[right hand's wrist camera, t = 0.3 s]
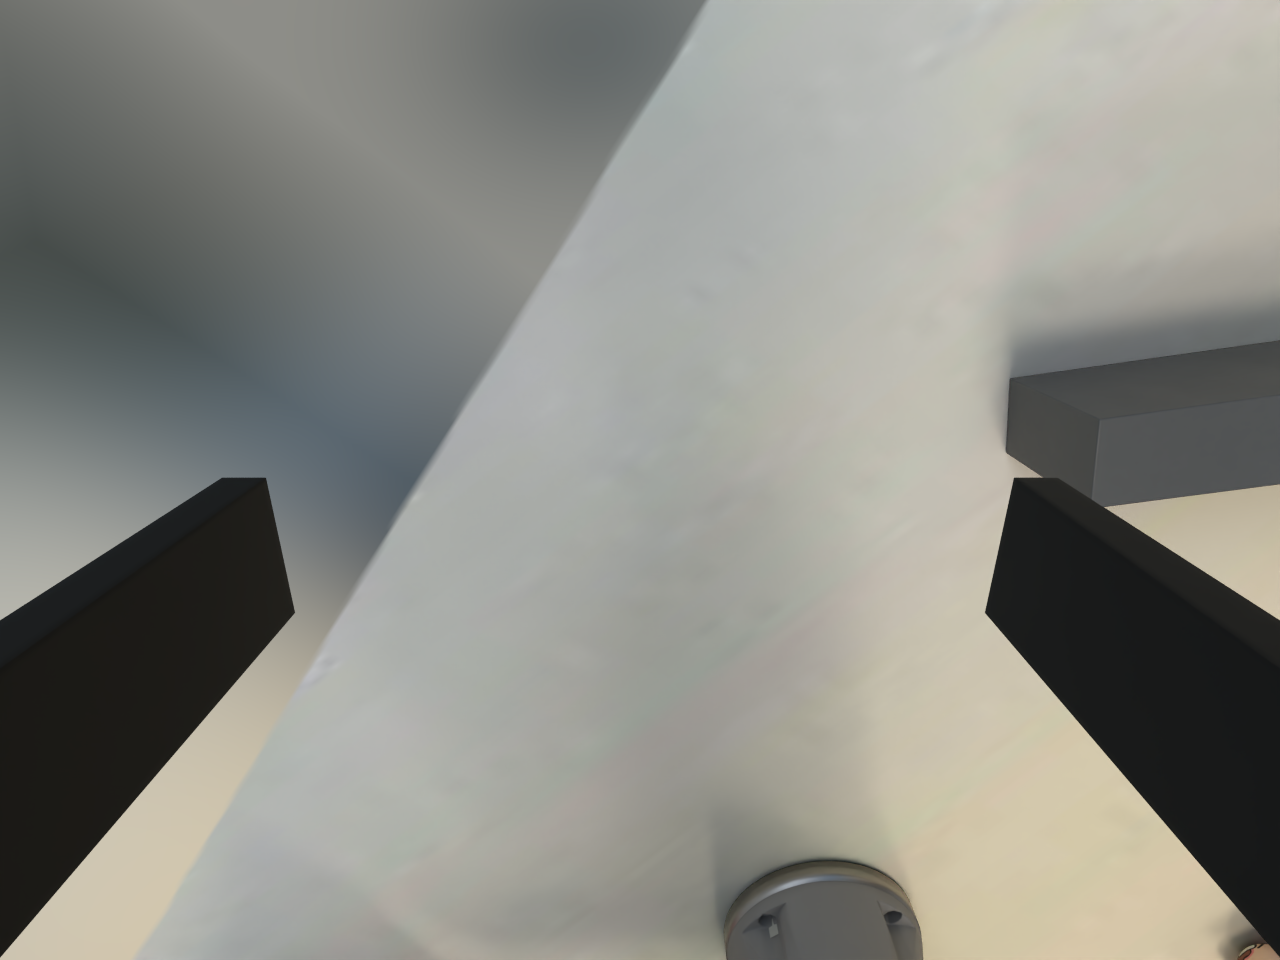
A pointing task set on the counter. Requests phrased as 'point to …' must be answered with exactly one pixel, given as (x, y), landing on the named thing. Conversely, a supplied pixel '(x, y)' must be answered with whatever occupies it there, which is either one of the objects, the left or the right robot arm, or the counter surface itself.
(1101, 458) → the beam
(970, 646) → the counter surface
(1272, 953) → the figurine character
